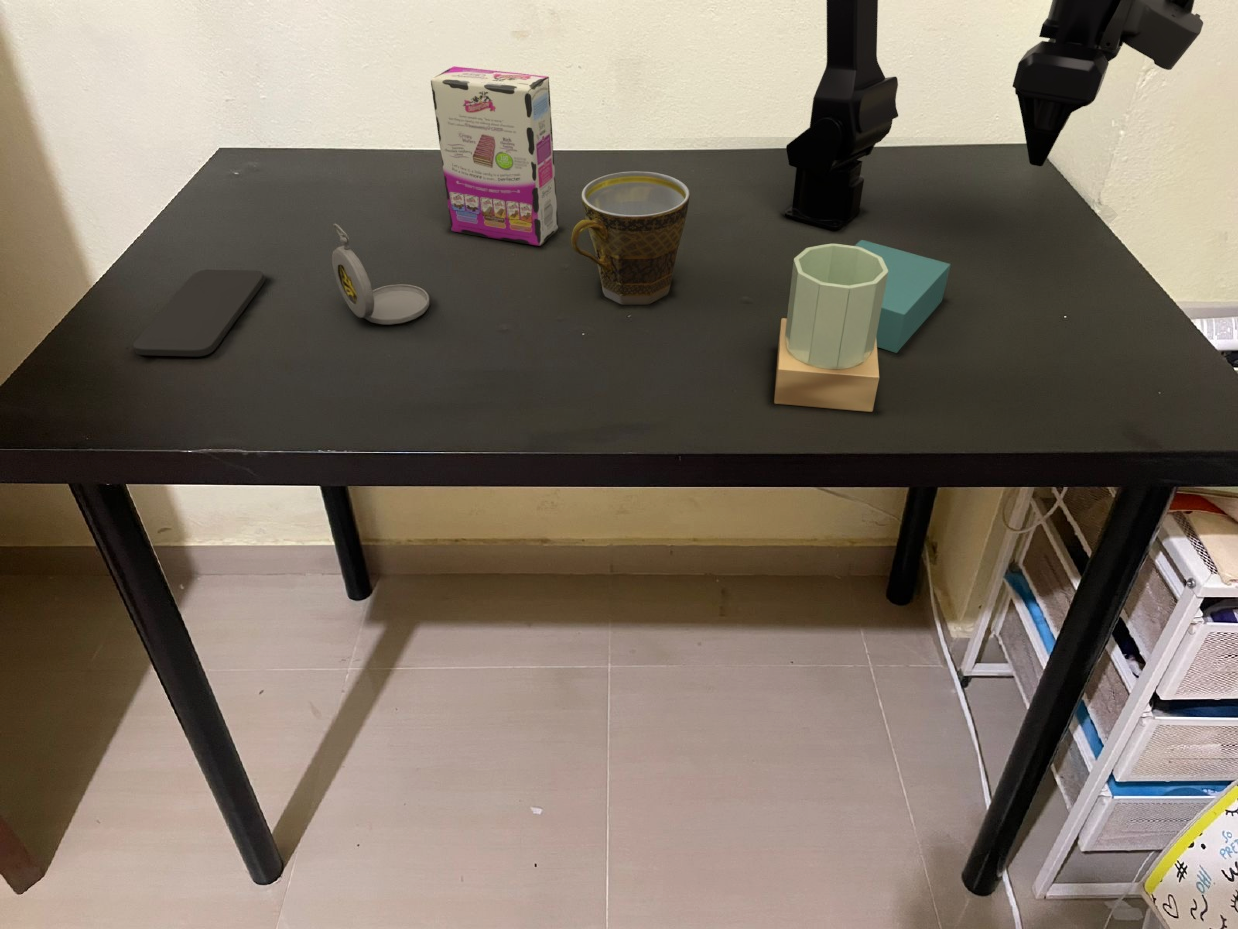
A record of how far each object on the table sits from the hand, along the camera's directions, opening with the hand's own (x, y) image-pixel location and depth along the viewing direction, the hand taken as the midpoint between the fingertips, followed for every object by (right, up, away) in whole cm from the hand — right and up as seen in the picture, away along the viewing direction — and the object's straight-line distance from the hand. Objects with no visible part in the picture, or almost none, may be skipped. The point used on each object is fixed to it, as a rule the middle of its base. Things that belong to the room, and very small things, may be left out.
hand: (1046, 146), depth 84 cm
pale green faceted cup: (-21, -19, -6) cm, 28 cm away
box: (-14, -14, +5) cm, 20 cm away
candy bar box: (-51, -3, +19) cm, 54 cm away
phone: (-78, -14, +6) cm, 79 cm away
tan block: (-21, -21, -4) cm, 30 cm away
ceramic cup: (-38, -12, +8) cm, 40 cm away
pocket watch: (-61, -14, +6) cm, 63 cm away
